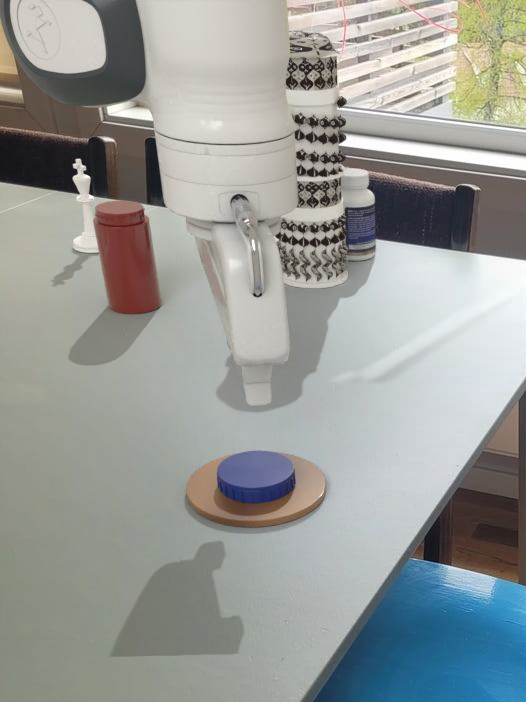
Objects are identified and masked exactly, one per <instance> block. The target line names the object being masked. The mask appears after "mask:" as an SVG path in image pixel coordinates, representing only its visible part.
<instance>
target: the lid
mask: <svg viewBox="0 0 526 702" xmlns="http://www.w3.org/2000/svg"><path fill="white" fill-rule="evenodd" d="M275 452H276V451H270V450H269V451H268V450H249V451H248V450H247V451H242V452H238V454H237V453H234V454H235V455H232V454H231V455H232V456H230V457H228V458H226V459H225V460H223V461H222V462H221V463H220V464H219V466H218V468H217V483H218V488H220V492H222V493H223V494H224V495H225V496H226V497H228V498H230V499H232V500H235V501H239V502H244V503H264V502H269V501H274V500H277V499H279V498H282V497H284V496H285V495H287V494H289V492H291V490H292V489H294V485H295V484H296V481H295V469H294V466H293V463H292V462H291V461H290V460H289V459H288V458H287V457H285V456H283V455H281V454H278V453H275Z"/></svg>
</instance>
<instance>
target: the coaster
mask: <svg viewBox="0 0 526 702" xmlns="http://www.w3.org/2000/svg"><path fill="white" fill-rule="evenodd" d="M274 452H275V453H278V454H281V455H283V456H285V457H287V458H288V459H289V460H290V461H291V462H292V463H293V466H294V469H295V481H296V484H295V485H294V489H292V490H291V492H289V494H287V495H285V496H284V497H282V498H279V499H277V500H274V501H269V502H264V503H244V502H239V501H235V500H232V499H230V498H228V497H226V496H225V495H224V494H223V493H222V492H220V488H218V483H217V468H218V466H219V464H220V463H221V462H222V461H223V460H225V459H226V458H228V457H230V456H232V455H235V454H238V453H239V452H238V453H232V454H230V455H229V454H228V455H225V456H221V457H218V458H216V459H213V460H211V461H209V462H207V463H205V464H203V465H201V466H200V467H199V468H198V469H196V470H195V471H194V472H193V473H192V474H191V475H190V477H189V478H188V481H187V483H186V487H185V491H186V498H187V502H188V504H189V506H190V507H191V508H192V509H193V511H195V512H196V514H198V515H199V516H201V517H203V518H205V519H207V520H209V521H212V522H214V523H218V524H221V525H226V526H231V527H238V528H239V527H240V528H264V527H271V526H277V525H282V524H285V523H289V522H292V521H295V520H298V519H300V518H302V517H304V516H306V515H308V514H309V513H311V512H313V511H314V510H315V509H316V508H317V507H318V506H319V505H321V503H322V501H323V500H324V498H325V496H326V493H327V492H326V491H327V483H326V477H325V475H324V474H323V472H322V471H321V469H320V468H319V467H318V466H317V465H315V464H314V463H312V462H311V461H309V460H307V459H305V458H302V457H300V456H296V455H294V454H289V453H285V452H277V451H274Z"/></svg>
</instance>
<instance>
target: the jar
mask: <svg viewBox="0 0 526 702" xmlns="http://www.w3.org/2000/svg"><path fill="white" fill-rule="evenodd" d="M94 211H95V212H94V219H93V224H94V229H95V235H96V240H97V246H98V251H99V253H98V256H99V262H100V266H101V273H102V278H103V283H104V289H105V293H106V300H107V306H108V308H109V309H110V310H111V311H113V312H115V313H119V314H125V315H126V314H128V315H136V314H138V315H139V314H145V313H150V312H154V311H156V310H158V309H159V308H160V307H161V306H162V304H163V302H162V295H161V289H160V281H159V276H158V268H157V262H156V255H155V250H154V249H155V248H154V242H153V235H152V229H151V222H150V217H149V216H148V215H146V214H145V211H146V208H145V207H144V205H143V204H142V203H140V202H137V201H131V200H110V201H109V200H108V201H105V202H100V203H98V204H96V205H95V207H94Z"/></svg>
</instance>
